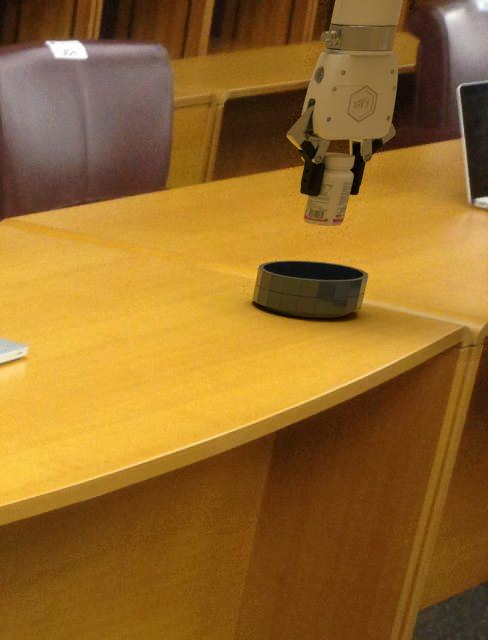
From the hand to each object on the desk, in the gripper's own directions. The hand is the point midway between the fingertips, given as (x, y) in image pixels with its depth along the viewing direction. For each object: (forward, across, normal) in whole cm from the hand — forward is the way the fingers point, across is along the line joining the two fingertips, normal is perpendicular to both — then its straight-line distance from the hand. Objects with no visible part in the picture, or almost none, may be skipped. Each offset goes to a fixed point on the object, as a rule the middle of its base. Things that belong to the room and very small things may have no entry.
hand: (329, 192), depth 196 cm
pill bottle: (+4, 0, 0) cm, 4 cm away
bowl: (+15, 0, 0) cm, 15 cm away
